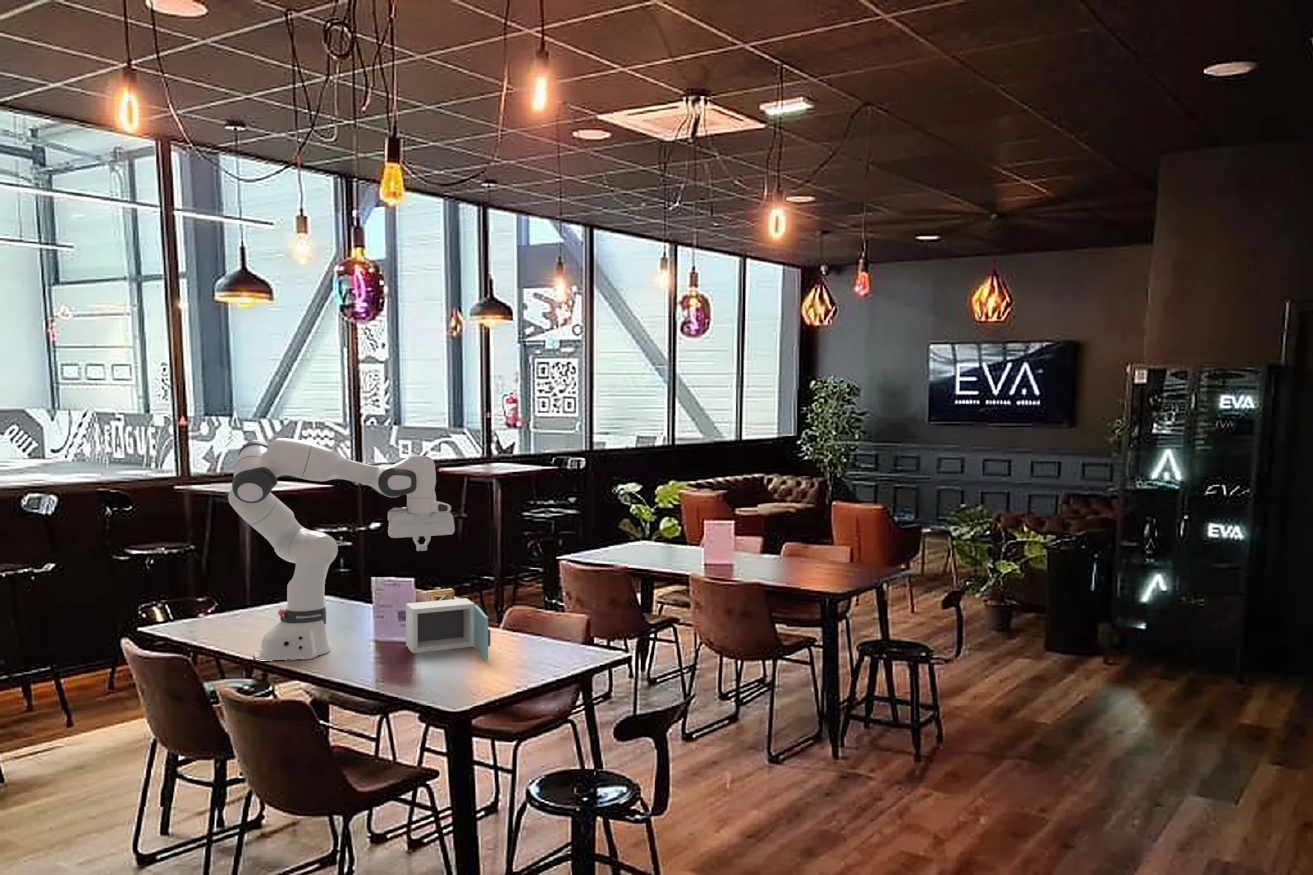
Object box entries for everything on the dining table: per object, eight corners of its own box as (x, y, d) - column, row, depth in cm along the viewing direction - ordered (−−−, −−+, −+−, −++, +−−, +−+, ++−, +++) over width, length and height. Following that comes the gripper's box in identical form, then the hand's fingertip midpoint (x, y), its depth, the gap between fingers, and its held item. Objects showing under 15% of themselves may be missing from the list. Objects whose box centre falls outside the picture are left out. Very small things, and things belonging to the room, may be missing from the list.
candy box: (451, 631, 324) (450, 587, 324) (455, 634, 321) (454, 590, 320) (426, 634, 320) (425, 590, 319) (429, 637, 316) (429, 592, 316)
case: (412, 653, 295) (412, 609, 295) (406, 646, 304) (405, 603, 304) (474, 646, 304) (474, 603, 304) (466, 639, 313) (466, 598, 313)
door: (490, 659, 285) (490, 617, 285) (484, 660, 285) (484, 617, 284) (479, 644, 304) (479, 604, 304) (473, 644, 303) (473, 605, 303)
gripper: (389, 508, 284) (389, 554, 284) (456, 505, 293) (456, 549, 293) (385, 507, 289) (385, 551, 290) (450, 504, 299) (451, 547, 299)
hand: (421, 550), depth 292 cm, fingers closed
